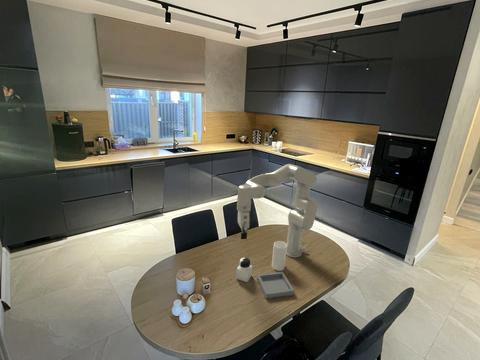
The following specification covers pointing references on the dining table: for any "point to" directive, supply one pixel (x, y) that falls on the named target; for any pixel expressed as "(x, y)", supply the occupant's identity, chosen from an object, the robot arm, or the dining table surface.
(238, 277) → the medicine bottle
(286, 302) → the dining table surface
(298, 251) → the robot arm
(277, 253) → the cup
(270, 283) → the tray
